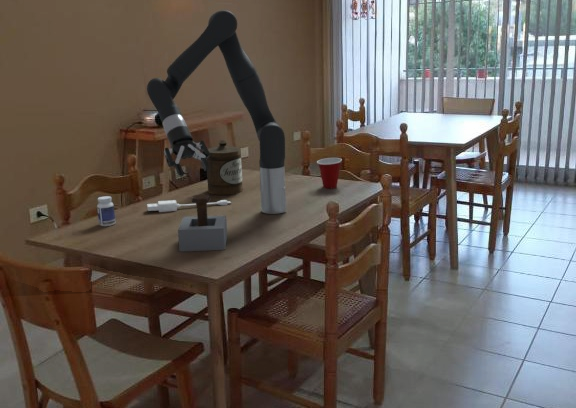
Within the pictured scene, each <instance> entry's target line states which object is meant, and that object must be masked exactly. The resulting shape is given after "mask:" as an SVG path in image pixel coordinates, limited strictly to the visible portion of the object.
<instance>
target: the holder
mask: <svg viewBox="0 0 576 408" xmlns="http://www.w3.org/2000/svg"><path fill="white" fill-rule="evenodd" d="M197 216H198V215H196V216H183V217H182V220H181V222H180V224H179V226H178V229H177V233H178V234H177V235H178V249H179V252H197V251H198V252H200V251H201V252H202V251H203V252H204V251H223V250H226V245H227V239H228V227H227V226H228V225H227V215H226V214H224V215H222V214H221V215H207V218H208V224H209V225H211V226H196V225H198V217H197Z"/></svg>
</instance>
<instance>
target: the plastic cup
mask: <svg viewBox="0 0 576 408" xmlns="http://www.w3.org/2000/svg"><path fill="white" fill-rule="evenodd" d="M342 161H343V159H342V158H339V157H327V158H321V159H319V160H317V161H316V164H317V165H318V167H319V171H320V172H319V173H320V176H321V181H322V186H323V188H325V189H335V188H337V187H338V182H339V181H338V180H339V176H340V169H341V164H342Z"/></svg>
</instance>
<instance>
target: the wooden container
mask: <svg viewBox="0 0 576 408" xmlns="http://www.w3.org/2000/svg"><path fill="white" fill-rule="evenodd" d="M227 144H228V142H227V140H224V139H221V140H219V142H218V145H219V146H215V147H209V148H207V149H208V151H209V153H210V155H209V157H208V159H206V160H207V162H208V165H209V167H208V170H207V171H206V176H207V177H206V178H207V192H208V193H209V194H211V195H216V196H217V195H218V196H228V195H234V194H238V193H241V192H242V191H243V170H242V169H243V168H242V156H241V154H242V153H241V152H242V150H241V148H240V147H237V146H228V145H227Z"/></svg>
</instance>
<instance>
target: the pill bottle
mask: <svg viewBox="0 0 576 408" xmlns="http://www.w3.org/2000/svg"><path fill="white" fill-rule="evenodd" d="M112 200H113V199H112V196H108V195H106V196H99V197H98V198H97V202H98V203H97V205H96V209H97V216H98V217H97V219H98V224H99V226H101V227H110V226H113V225H115V224H116V223H117V221H116V212H115V206H114V203H113V201H112Z"/></svg>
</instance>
